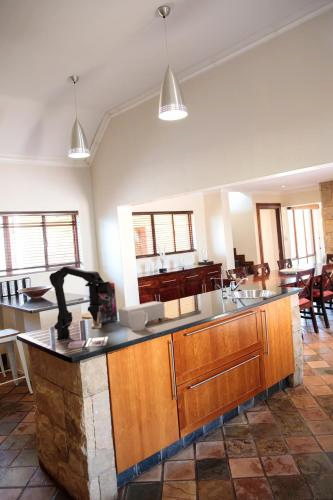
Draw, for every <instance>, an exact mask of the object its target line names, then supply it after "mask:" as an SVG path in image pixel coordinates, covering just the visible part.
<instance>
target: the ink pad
mask: <svg viewBox="0 0 333 500" xmlns="http://www.w3.org/2000/svg"><path fill="white" fill-rule="evenodd" d="M85 346H86V340H74V341H70V342H69V344H68V346H67V349H78V348H79V349H80V348H84V347H85Z"/></svg>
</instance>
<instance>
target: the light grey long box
mask: <svg viewBox="0 0 333 500" xmlns="http://www.w3.org/2000/svg"><path fill="white" fill-rule="evenodd" d="M117 309H118V310H117V311H118V320H119V321H118V323H119V324H118V325H121V326H123V327H130V328H131V322H130V312H133V311H144V313H145V314H144V316H145V322H146V313H148V321H149V322H152V321H151V320H153V321H156V320H159V318H160V319H162V318H163V317H164V318H165V317H166V313H165V312H166V311H165V310H166V309H165V302H162V301H154V300H153V301H150V302H149V301H148V302H144V303H139V304H136V305H131V306H130V305H129V306H127V307H122V308H117ZM164 318H163V319H164ZM155 319H156V320H155Z"/></svg>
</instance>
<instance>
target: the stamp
mask: <svg viewBox="0 0 333 500" xmlns="http://www.w3.org/2000/svg"><path fill="white" fill-rule="evenodd" d="M99 312H100V311H99ZM99 312H98V315H97V322H95V321H94V319H93V318H92V324H91V330H100V329H101V328H102V325H101V324H99ZM93 323H94V324H93Z"/></svg>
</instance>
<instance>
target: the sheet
mask: <svg viewBox="0 0 333 500" xmlns="http://www.w3.org/2000/svg"><path fill="white" fill-rule="evenodd" d="M108 339H109V336H98V337H96V336H95V337H89V338H88V340H87V342H86V343H85V345H84V348H91V347H100V346H102V347H103V346H106V345H107V342H108Z"/></svg>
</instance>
